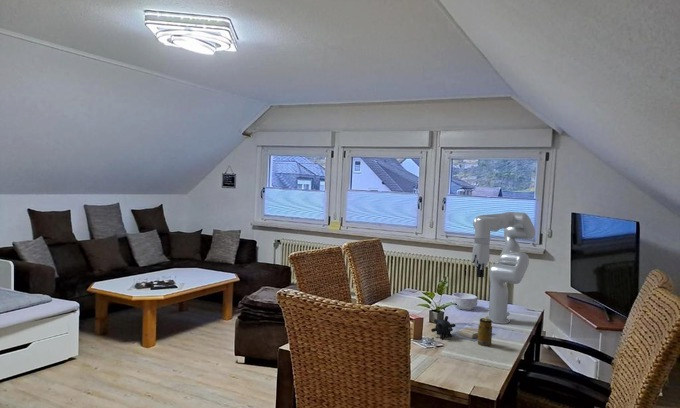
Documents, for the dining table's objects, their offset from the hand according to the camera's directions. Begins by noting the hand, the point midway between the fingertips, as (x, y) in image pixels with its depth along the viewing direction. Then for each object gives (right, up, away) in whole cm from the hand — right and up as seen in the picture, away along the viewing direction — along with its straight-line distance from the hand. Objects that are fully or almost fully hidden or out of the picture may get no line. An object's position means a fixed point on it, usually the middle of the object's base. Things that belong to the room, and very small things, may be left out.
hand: (480, 276), depth 236 cm
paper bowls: (+4, -26, +44) cm, 52 cm away
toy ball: (-22, -27, -16) cm, 38 cm away
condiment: (-5, -28, -25) cm, 38 cm away
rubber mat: (-7, -27, -10) cm, 30 cm away
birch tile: (-4, -26, -8) cm, 27 cm away
